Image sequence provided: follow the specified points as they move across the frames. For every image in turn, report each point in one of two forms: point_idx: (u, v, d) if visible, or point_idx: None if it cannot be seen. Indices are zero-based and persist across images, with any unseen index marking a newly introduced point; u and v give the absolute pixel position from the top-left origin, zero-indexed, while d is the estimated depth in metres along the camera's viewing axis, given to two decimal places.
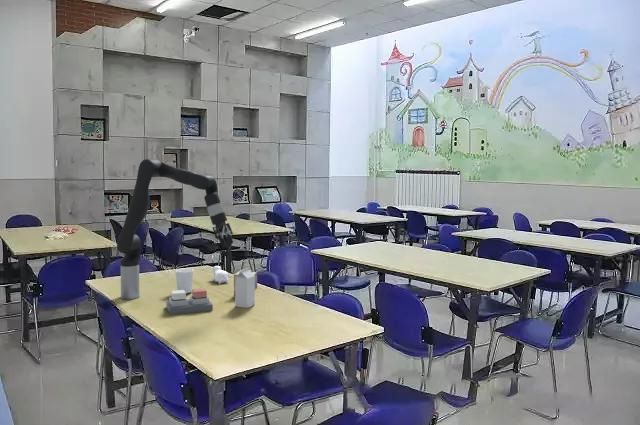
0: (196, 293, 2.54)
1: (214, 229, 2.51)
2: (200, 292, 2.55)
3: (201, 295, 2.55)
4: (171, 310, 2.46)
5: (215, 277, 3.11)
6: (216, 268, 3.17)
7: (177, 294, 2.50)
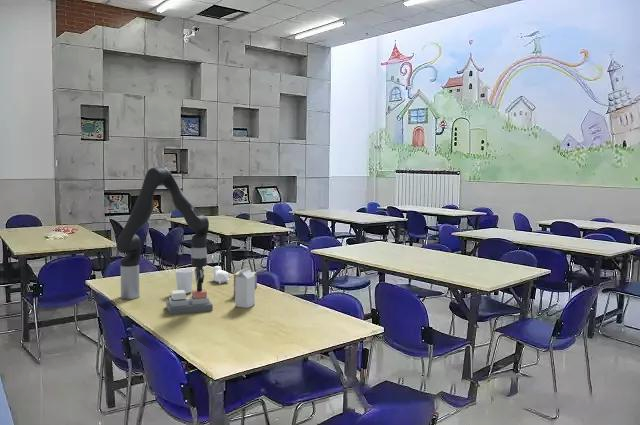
0: (196, 294, 2.54)
1: (200, 277, 2.51)
2: (200, 293, 2.55)
3: (201, 296, 2.55)
4: (171, 310, 2.46)
5: (215, 277, 3.11)
6: (216, 268, 3.16)
7: (177, 294, 2.50)
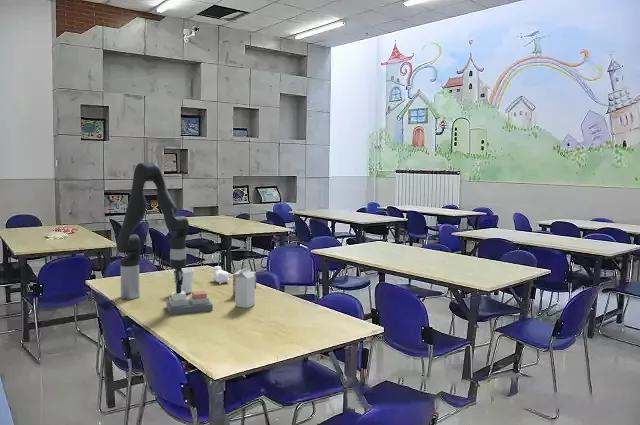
0: (196, 296, 2.54)
1: (179, 279, 2.47)
2: (200, 295, 2.55)
3: (201, 298, 2.55)
4: (171, 310, 2.46)
5: (216, 277, 3.11)
6: (216, 268, 3.16)
7: (177, 295, 2.50)
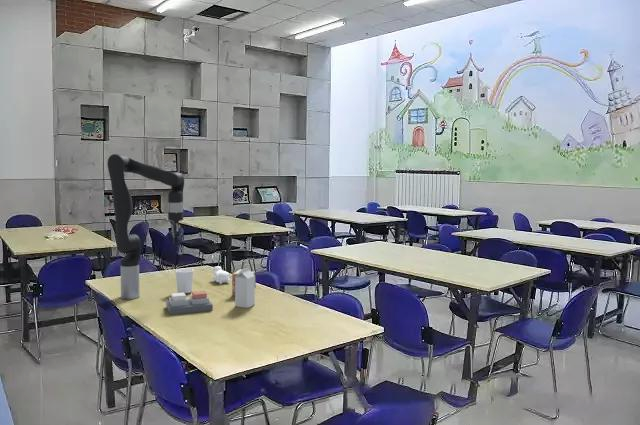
0: (196, 296, 2.54)
1: (176, 230, 2.65)
2: (200, 295, 2.55)
3: (201, 298, 2.55)
4: (171, 310, 2.46)
5: (216, 277, 3.10)
6: (217, 268, 3.15)
7: (177, 297, 2.50)
